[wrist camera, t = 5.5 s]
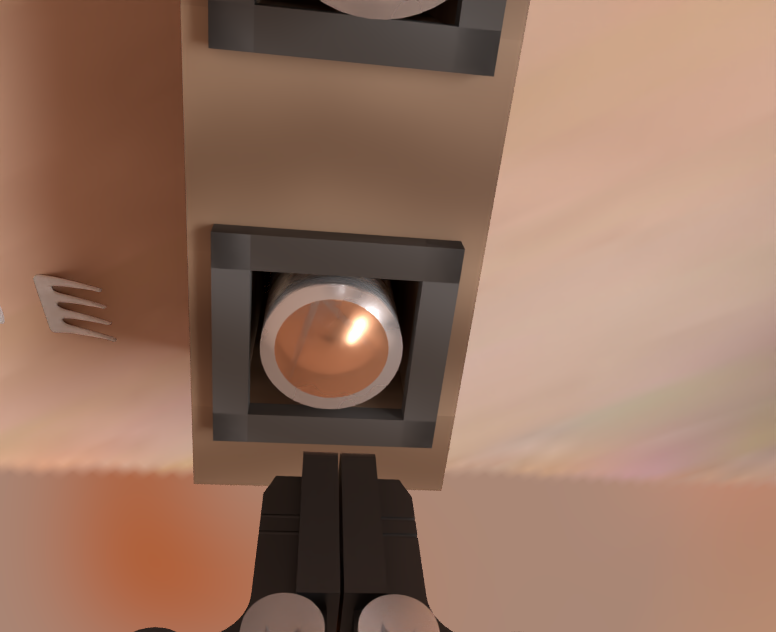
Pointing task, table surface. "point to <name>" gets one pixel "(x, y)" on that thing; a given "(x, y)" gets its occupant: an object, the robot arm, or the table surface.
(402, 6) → the peg
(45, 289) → the fork
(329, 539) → the robot arm
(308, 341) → the peg
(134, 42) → the table surface
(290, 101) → the walnut bar
